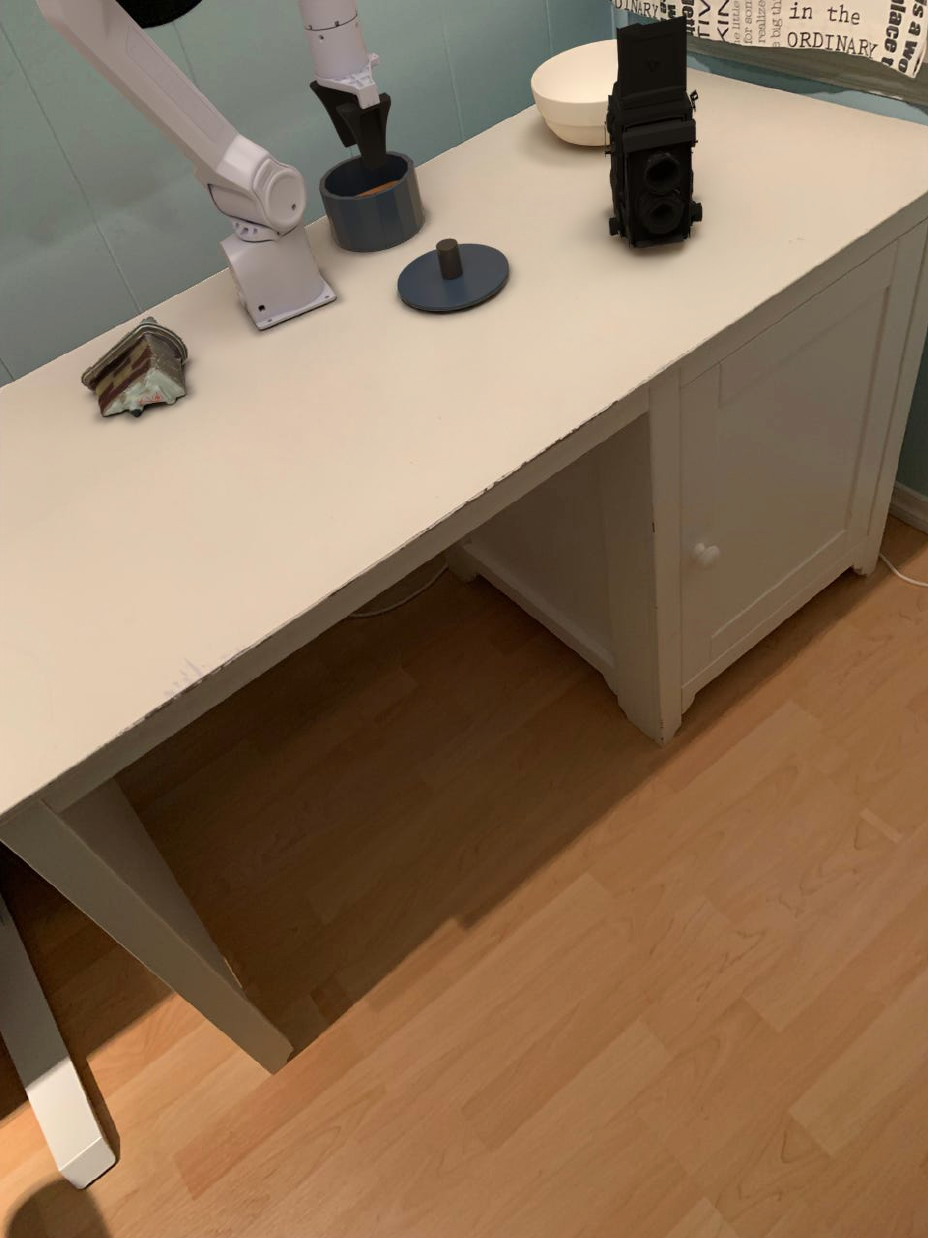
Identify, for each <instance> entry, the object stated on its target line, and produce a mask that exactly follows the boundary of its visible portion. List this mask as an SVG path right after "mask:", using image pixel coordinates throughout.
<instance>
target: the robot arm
mask: <svg viewBox="0 0 928 1238" xmlns="http://www.w3.org/2000/svg"><path fill="white" fill-rule="evenodd" d="M35 3H36V4H37V7H38V8H39V11H40V13H41V15H42V17H43V18H44V20H45V21H46V22H47V24H48V25H49V26H50V27H51V28H52V29H53V30H54V31H55V32H56V33H57V35H59V36H60V37H61V38H62V39H64V40H65V42H66V43H67V44H68V45H70V46H71V47H72V48H73V49H74V50H75V51H76V52H77V54H79V55H80V56H81V58H83V59H84V60H85V61H86V62H87V63H88V64H89V65H90V66H91V67H92V68H93V69H94V70H95V71H96V72H97V73H99V74H100V75H101V77H103V78H104V79H105V81H107V82H108V83H109V84H110V85H111V86H112V87H113V88H114V89H115V90H116V91H117V92H118V93H119V94H120V95H121V96H122V97H124V98H125V100H127V101H128V102H129V104H131V105H132V106H133V107H134V108H135V109H136V110H137V111H138V112H139V113H140V114H141V115H142V116H143V117H144V118H145V119H146V120H147V121H148V122H149V123H150V124H151V125H153V126H154V128H156V129H157V130H158V131H159V132H160V133H161V134H162V135H163V136H164V137H165V138H166V139H167V140H168V141H169V142H170V143H171V144H172V145H173V146H174V147H175V148H176V149H177V150H178V151H179V152H180V153H182V154H183V155H184V156H185V157H186V158H187V159H188V161H190V162H191V163H192V164H193V165H194V167H193V172H192V173H193V177H194V178H195V179H196V180H197V181H198V182H199V183H200V184H201V185H202V187H203V188H204V190H205V192H206V194H207V197H208V200H209V202H210V204H211V205H212V206H213V208H214V209H215V210H216V211H217V212H218V213H220V214H221V215H224V216H226V217H228V220H229V223H230V226H231V227H232V228H233V230H234V232H233V233H232V234H230V236H228V237H227V238H224V239H223V240H221V241H220V242H219V247H220V249H221V252H222V255H223V258H224V260H225V263H226V264H227V267H228V270H229V272H230V274H231V277H232V279H233V282H234V284H235V287H236V290H237V292H236V293H237V296H238V298H239V300H240V303H241V305H242V306H243V308H246V310H247V312H248V313H249V316H250V317H251V318H252V320H253V322H254V324H255V326H256V327H257V329H258V330H265V329H268V328H270V327H272V326H275V325H277V324H280V323H282V322H284V321H287V320H289V319H291V318H294V317H297V316H299V315H302V314H303V313H307V312H308V311H311V310H314V309H316V308H318V307H321V306H323V305H325V304H328V303H330V302H332V301H334V300H336V298H337V296H336V293H335V292H334V291H333V289H332V288H331V287H330V285H329V284H328V283H327V281H326V280H325V279H324V277H323V276H322V274H321V273H320V270H319V268H318V265H317V262H316V259H315V255H314V252H313V249H312V246H311V242H310V240H309V236H308V234H307V230H306V227H305V225H304V221H305V220H306V219H305V216H304V215H305V213H306V210H307V205H308V190H307V189H308V188H307V185H306V181H305V179H304V177H303V176H302V174H301V173H300V171H299V170H298V169H297V168H295V167H294V166H292V165H290V164H287V163H283V162H280V161H278V160H277V159H276V158H275V157H274V156H273V155H272V154H271V153H270V152H269V150H267V149H265V148H263V147H262V146H260V145H258V144H257V143H255V142H253V141H252V140H251V139H248V137H245V136H244V135H242V134H241V133H239V132H238V131H237V130H236V128H235V127H234V126H233V125H232V123H230V122H229V121H228V120H227V118H225V116H223V114H221V112H220V111H219V110H218V109H217V108H216V107H215V106H214V105H213V103H211V102H210V101H209V100H208V98H207V97H206V96H205V95H204V93H202V92H201V91H200V90H199V88H198V87H197V86H196V85H195V84H194V83H193V82H192V81H191V80H190V79H189V78H188V76H187V75H185V73H183V71H182V70H181V69H180V68H179V67H178V66H177V65H176V64H175V63H174V62H173V60H171V58H169V56H168V55H167V54H166V53H165V52H164V51H163V50H162V49H161V48H160V47H159V46H158V44H156V42H155V41H154V40H153V39H152V38H151V37H150V36H149V35H148V34H147V33H146V32H145V30H143V28H142V27H141V26H140V25H139V24H138V23H137V22H136V21H135V20H134V18H132V17H131V16H130V14H129V13H128V12H127V11H126V10H125V9H124V8H123V7H122V6H121V5H120V4H119V2H118V1H116V0H35ZM296 3H297V6H298V10H299V13H300V17H301V21H302V24H303V28H304V32H305V36H306V39H307V43H308V47H309V50H310V54H311V57H312V62H313V65H314V76H315V80H313V81H311V82H309V88H310V89H311V91H312V92H313V93H314V94H315V96H316V97H317V98H318V99H319V101H320V102H321V104H322V106H323V107H324V109H325V111H326V114H327V115H328V116H329V118H330V121H331V122H332V125H333V127H334V129H335V132H336V134H337V135H338V137H339V140H340V142H341V143H342V145H343V147H344V148H345V149H348V148H350V147H353V146H355V145H357V149H358V151H359V153H360V154H359V155H361V156H362V159H363V161H364V163H365V165H366V166H367V168H368V169H369V170H373V169H376V168H378V167H381V166H383V165H385V164H386V151H387V123H388V117H389V114H390V110H391V106H392V99H391V96H390V95H389V94H388V93H387V92H385V91H384V92H382V93H379V91H378V87H377V83H376V81H374V75H373V68H374V67H375V66H378V65H380V63H381V61H380V56H379V55H378V54H376V53H375V52H369V53H368V52H367V47H366V42H365V38H364V35H363V31H362V26H361V21H360V17H359V13H358V12H359V11H358V8H357V3H356V0H296Z"/></svg>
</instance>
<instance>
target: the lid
mask: <svg viewBox="0 0 928 1238" xmlns="http://www.w3.org/2000/svg"><path fill="white" fill-rule="evenodd" d="M509 264H510V263H509V260H508V258H507V257H506V255H505V254H504V253H503V252H502V251H500V250H499V249H497V248H496V247H494V246H490V245H486V244H482V243H472V242H471V243H459V242H458V240H457V239H456V238H451V237H449V238H444V239H441V240H439V241H438V242H437V243H436V244H435V249H432V250H430V251H427V252H425V253H423V254H421V255H420V256H417V257H416V258H415V259H413V260H411V261H410V262H409V263H408V264H407V265H406V266H405V267H404V268H403V270H401V272H400V274H399V276H398V277H397V278H398V279H397V284H396V286H397V287H396V288H397V292H398V294H399V296H400V298H401V299H402V300H403V301H404V302H405V303H406V304H407V305H409V306H411V307H413V308H415V309H419V310H424V311H430V312H445V311H454V310H461V309H463V308H467V307H470V306H473V305H476V304H478V303H480V302H482V301H485V300H487V299H488V298H490V297H491V296H492V295H494V294H495V293H497V292H498V291H499V290H500V289H501V288H502V287H503V286H504V284H505V283H506V281H507V280H508V278H509V274H510V265H509Z"/></svg>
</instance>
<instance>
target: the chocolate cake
mask: <svg viewBox="0 0 928 1238" xmlns="http://www.w3.org/2000/svg"><path fill="white" fill-rule="evenodd" d="M188 356H189V350H188V347H187V346H186V344H185V343H184V340H183V338H182V337H180V336H179V335H178V334H176V332H174V330H172V329H171V328H168V327H167V326H164V325H162V324H160V323H158V321H157V319H155V317H153V316H150V315H149V316H148V317H145V318H143V319H142V320H141V321H140V322H139V323H138V324H137V326H135V327H133V328H132V330H130V331H128V332H127V333H126V334H125V335H124V336H122V338H120V339H119V340H118V341H117V342H116V343H115V344H114V345H113V346H112V347H111V349H109V350H108V351H107V352H106V353H104V354H103V355H102V356H100V357H99V358H98V360H97V361H96V362H95V363H94V364H92V365H91V366H88V367H87V368H86V370H85V371H84V372H82V373H81V376H80V383H82V385H83V386H84V387H86V388H87V389H88V390H90V391H91V392H94V393H96V396H97V397H98V398H97V403H98V405H97V406H98V407H99V409H100V414H101V415H102V416H103V417H104V416H106V417H107V416H109V415H114V414H117V413H122V412H123V411H125V410H129V411H130V414H131V415H132V416H135V417H138V416H140V415H141V413H142V411H143V410H144V407H145V406H147V405H151V404H154V403H164V402H165V403H166V404H167V405H173V404H175V402H176V399H177V398H180V397H183V396H185V395H186V394H187V391H186V386H185V384H184V382H185V381H184V380H185V379H184V374H183V371H182V365H183V364H184V363H185V361H186V360H187V359H188Z"/></svg>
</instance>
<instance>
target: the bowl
mask: <svg viewBox="0 0 928 1238" xmlns="http://www.w3.org/2000/svg"><path fill="white" fill-rule="evenodd" d="M617 73H618V56H617V38H615V39H614V38H613V39H606V40H600V41H599V40H598V41H595V42H590V43H586V44H583V45H579V46H576V47H573V48H570V49H568V50H564V51H562V52H560V53H558V54H556V55H554V56H552V57H551V58H549V59H547V60H546V61H544V62H543V63H542V64H541V65H539V66H538V67H537V68H536V69H535V71H534V72H533V74H532V76H531V78H530V86H531V87H530V89H531V92H532V95H533V99H534V102H535V107H536V109H537V111H538V112H539V114H540V115H541V116H542V117H543V118H544V121H545V123H546V124H547V127H548V128H549V129H550V130H551V131H552V132H553V133H554V134H555V135H556V136H557V137H558V138H560V139H561V140H563V141H565V142H567V143H570V144H574V145H579V146H593V147H595V146H596V147H599V146H600V147H601V146H605V128H606V146H610V141H609V136H610V134H609V133H608V131H607V125H606V126H605V123H604V121H606V115H607V112H608V111H607V109H608V95H612V90H613V84H614V83H615V82H616V81H617Z"/></svg>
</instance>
